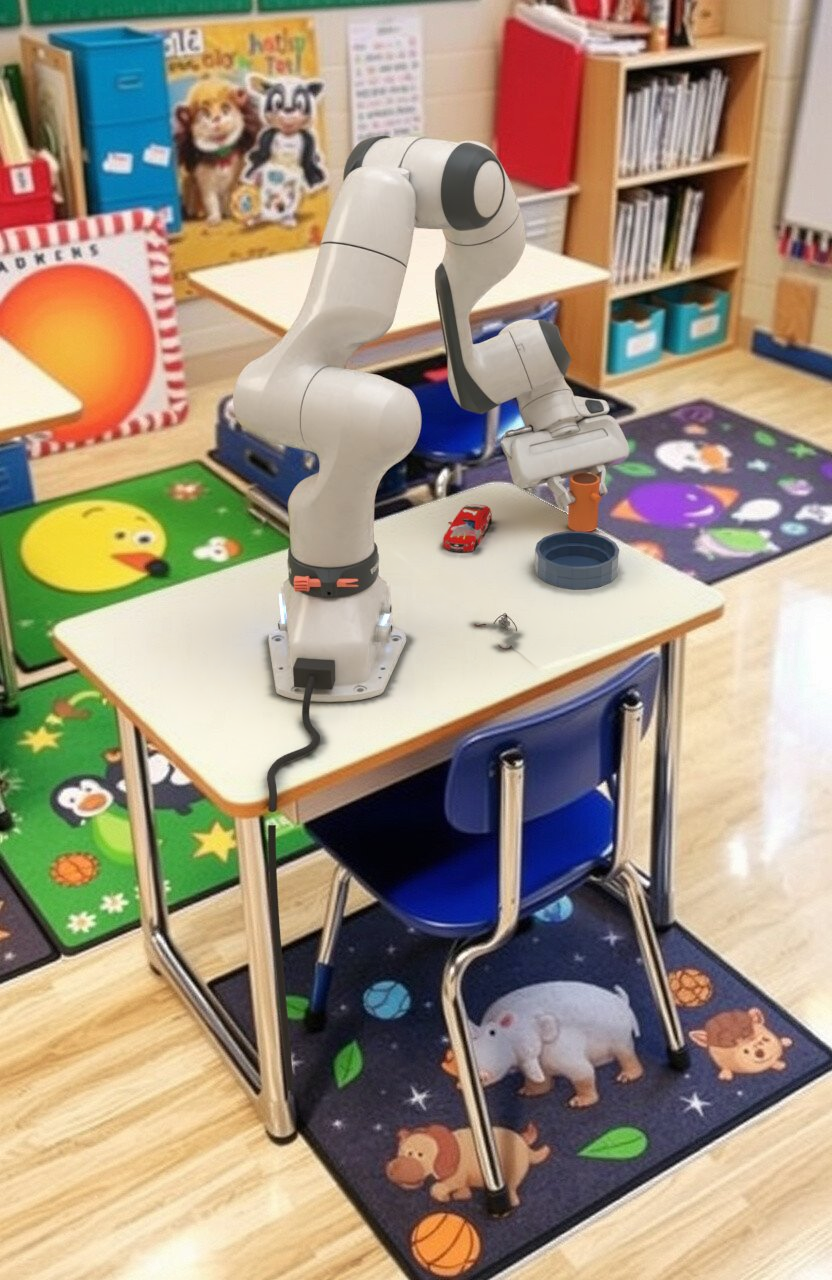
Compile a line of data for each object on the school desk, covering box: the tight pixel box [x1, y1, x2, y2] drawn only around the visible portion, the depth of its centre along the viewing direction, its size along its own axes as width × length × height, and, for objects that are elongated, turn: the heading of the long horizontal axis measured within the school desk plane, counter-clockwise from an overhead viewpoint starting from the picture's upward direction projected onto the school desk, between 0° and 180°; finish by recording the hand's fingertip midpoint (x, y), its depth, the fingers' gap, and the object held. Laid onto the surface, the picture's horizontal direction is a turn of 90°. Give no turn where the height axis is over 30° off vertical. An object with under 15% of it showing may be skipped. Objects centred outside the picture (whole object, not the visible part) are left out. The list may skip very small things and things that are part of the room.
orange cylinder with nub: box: [567, 472, 602, 532], centre depth 216 cm, size 6×5×8 cm
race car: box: [442, 503, 493, 553], centre depth 217 cm, size 13×5×4 cm, turn 161°
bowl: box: [534, 530, 620, 590], centre depth 206 cm, size 12×12×4 cm
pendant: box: [474, 612, 518, 650], centre depth 191 cm, size 8×4×3 cm, turn 35°
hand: (586, 499), depth 216 cm, fingers closed on orange cylinder with nub, 4 cm apart
